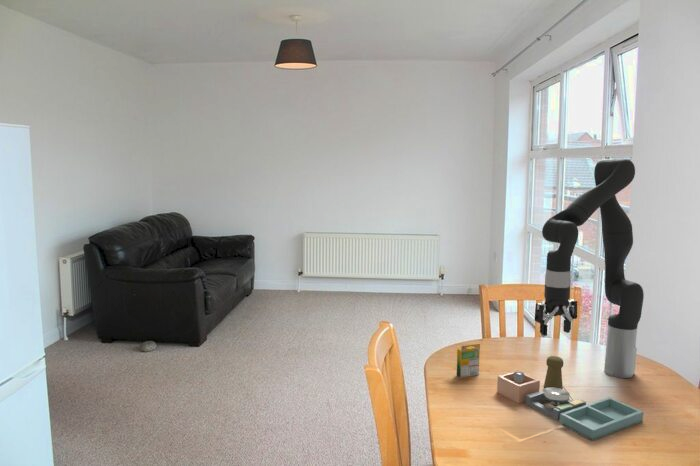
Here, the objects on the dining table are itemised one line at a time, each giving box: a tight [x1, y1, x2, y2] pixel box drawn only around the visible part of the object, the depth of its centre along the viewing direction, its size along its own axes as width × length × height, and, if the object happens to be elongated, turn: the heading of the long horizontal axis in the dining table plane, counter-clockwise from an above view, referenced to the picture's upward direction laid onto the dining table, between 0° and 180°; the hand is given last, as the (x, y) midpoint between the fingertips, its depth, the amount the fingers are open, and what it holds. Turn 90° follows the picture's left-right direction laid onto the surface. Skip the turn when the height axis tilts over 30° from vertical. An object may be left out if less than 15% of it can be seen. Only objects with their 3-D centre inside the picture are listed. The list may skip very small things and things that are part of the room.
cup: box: [496, 370, 541, 404], centre depth 175 cm, size 9×9×6 cm
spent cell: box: [513, 370, 525, 384], centre depth 175 cm, size 3×3×7 cm
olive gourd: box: [543, 355, 564, 390], centre depth 180 cm, size 6×6×11 cm
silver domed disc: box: [542, 387, 571, 407], centre depth 166 cm, size 8×8×4 cm
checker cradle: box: [525, 389, 587, 422], centre depth 167 cm, size 12×12×4 cm
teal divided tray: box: [559, 396, 644, 441], centre depth 159 cm, size 22×11×3 cm, turn 120°
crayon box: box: [456, 343, 481, 378], centre depth 191 cm, size 7×3×12 cm, turn 108°
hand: (555, 333), depth 176 cm, fingers open, 8 cm apart
